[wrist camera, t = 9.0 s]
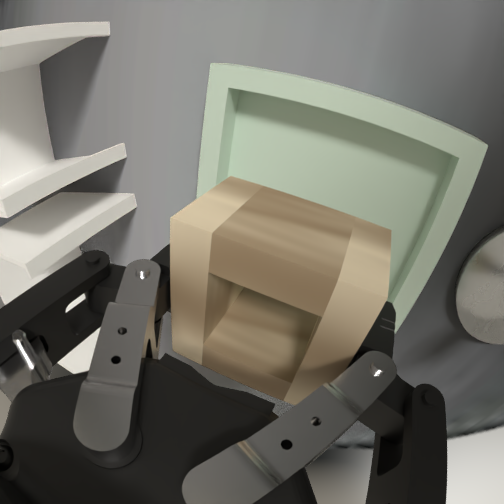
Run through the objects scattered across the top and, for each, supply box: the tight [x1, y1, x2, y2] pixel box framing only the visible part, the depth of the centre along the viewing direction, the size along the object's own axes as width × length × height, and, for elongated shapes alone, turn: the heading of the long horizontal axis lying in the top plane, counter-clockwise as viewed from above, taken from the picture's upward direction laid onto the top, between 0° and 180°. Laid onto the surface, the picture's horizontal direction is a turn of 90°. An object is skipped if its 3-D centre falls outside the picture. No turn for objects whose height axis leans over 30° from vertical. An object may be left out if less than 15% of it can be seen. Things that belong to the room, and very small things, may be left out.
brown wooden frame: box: [170, 176, 392, 405], centre depth 12 cm, size 8×6×4 cm
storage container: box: [0, 22, 137, 374], centre depth 21 cm, size 25×11×11 cm, turn 3°
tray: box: [196, 63, 488, 333], centre depth 18 cm, size 14×14×2 cm
